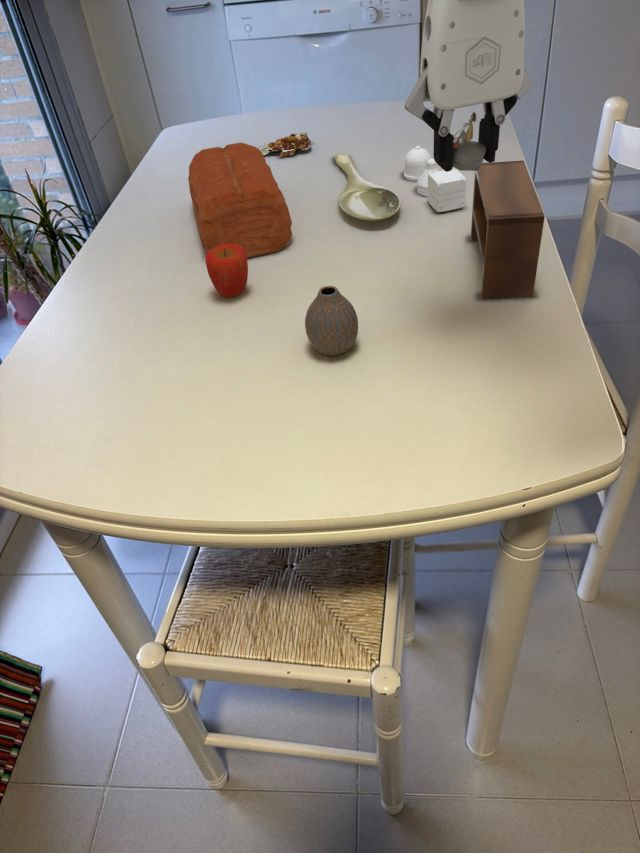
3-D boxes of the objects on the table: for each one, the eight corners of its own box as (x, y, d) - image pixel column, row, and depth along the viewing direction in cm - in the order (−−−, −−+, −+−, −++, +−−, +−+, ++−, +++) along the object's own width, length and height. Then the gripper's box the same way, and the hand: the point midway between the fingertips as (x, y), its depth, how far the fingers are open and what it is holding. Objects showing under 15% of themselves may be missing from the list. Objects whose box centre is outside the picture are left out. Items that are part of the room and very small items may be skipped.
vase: (298, 353, 86) (289, 297, 80) (327, 327, 90) (321, 271, 84) (341, 368, 83) (335, 311, 77) (369, 340, 87) (366, 283, 81)
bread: (270, 186, 127) (261, 130, 120) (298, 248, 108) (290, 186, 100) (192, 202, 125) (178, 146, 118) (206, 267, 106) (191, 206, 99)
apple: (244, 306, 96) (235, 261, 91) (207, 303, 98) (195, 258, 93) (258, 283, 101) (250, 239, 95) (222, 281, 102) (212, 237, 97)
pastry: (256, 149, 142) (253, 132, 140) (310, 141, 142) (308, 124, 140) (257, 161, 137) (254, 144, 135) (313, 153, 137) (311, 136, 135)
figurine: (488, 175, 73) (492, 119, 69) (448, 178, 74) (450, 123, 69) (479, 157, 77) (483, 103, 73) (442, 160, 77) (444, 107, 73)
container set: (465, 209, 112) (467, 178, 108) (436, 215, 111) (437, 183, 108) (425, 167, 126) (426, 138, 123) (400, 172, 126) (399, 143, 122)
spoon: (316, 168, 135) (315, 157, 134) (365, 160, 136) (365, 149, 134) (349, 233, 108) (348, 221, 107) (411, 222, 109) (411, 210, 108)
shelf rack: (515, 235, 104) (523, 160, 95) (532, 296, 91) (544, 215, 83) (470, 237, 105) (475, 163, 96) (481, 298, 92) (488, 219, 83)
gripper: (406, -6, 59) (407, 190, 71) (575, -36, 61) (548, 159, 73) (379, -18, 64) (385, 166, 77) (536, -45, 66) (517, 138, 79)
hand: (465, 161), depth 75 cm, fingers closed on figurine, 4 cm apart
